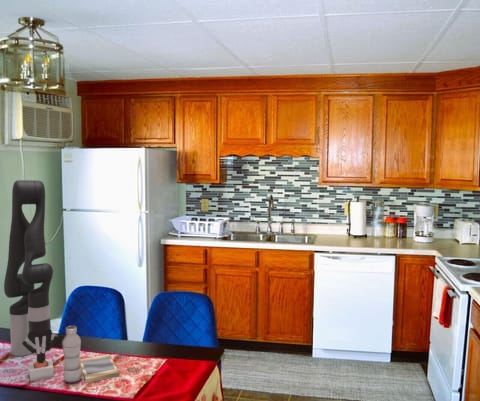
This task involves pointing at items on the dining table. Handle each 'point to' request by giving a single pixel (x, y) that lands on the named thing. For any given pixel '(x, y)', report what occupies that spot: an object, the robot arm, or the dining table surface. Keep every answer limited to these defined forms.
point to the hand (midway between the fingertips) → (41, 362)
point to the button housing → (41, 371)
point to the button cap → (40, 364)
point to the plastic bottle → (72, 355)
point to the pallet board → (98, 368)
